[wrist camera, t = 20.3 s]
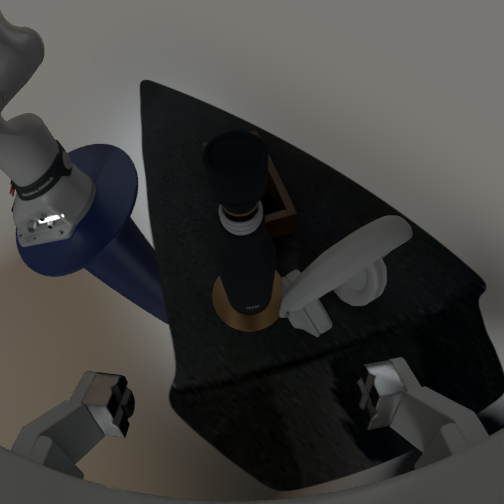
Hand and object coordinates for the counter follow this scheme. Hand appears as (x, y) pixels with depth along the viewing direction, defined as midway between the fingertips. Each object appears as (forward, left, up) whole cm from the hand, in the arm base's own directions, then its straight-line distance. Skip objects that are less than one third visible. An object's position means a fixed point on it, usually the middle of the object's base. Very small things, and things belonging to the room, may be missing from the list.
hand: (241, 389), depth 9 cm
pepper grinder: (+3, +12, -33) cm, 35 cm away
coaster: (+3, +12, -33) cm, 35 cm away
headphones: (+14, +8, -33) cm, 37 cm away
